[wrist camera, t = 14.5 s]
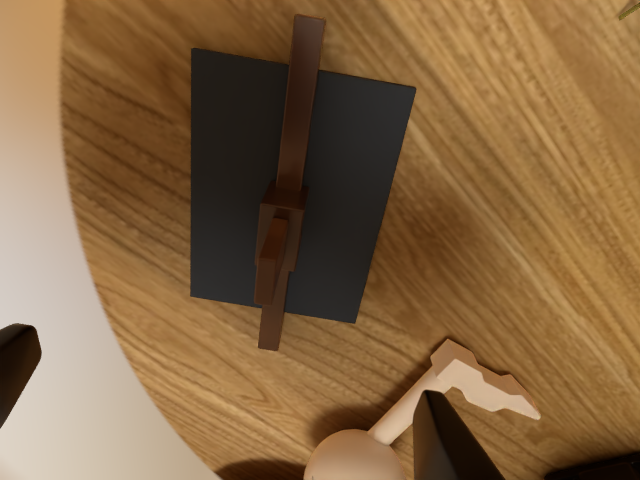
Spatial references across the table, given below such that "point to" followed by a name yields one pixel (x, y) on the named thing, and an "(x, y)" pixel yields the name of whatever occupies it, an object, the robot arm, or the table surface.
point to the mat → (261, 167)
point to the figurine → (373, 446)
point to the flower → (629, 11)
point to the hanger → (287, 182)
